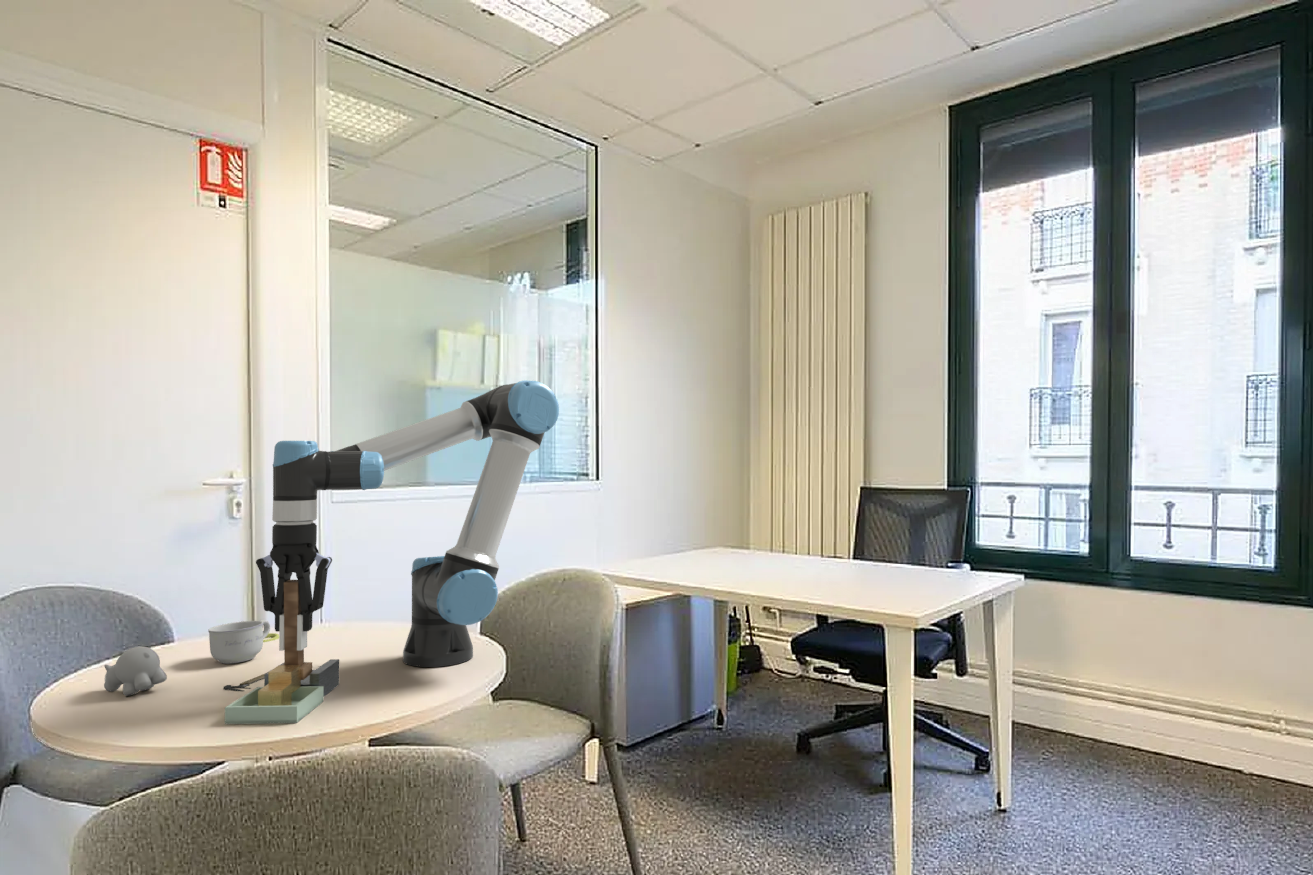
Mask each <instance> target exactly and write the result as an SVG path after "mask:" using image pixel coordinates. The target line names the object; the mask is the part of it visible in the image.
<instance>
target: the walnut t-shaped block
mask: <svg viewBox="0 0 1313 875" xmlns="http://www.w3.org/2000/svg"><path fill="white" fill-rule="evenodd" d="M300 612H302V610H301V602H300V593H299V585H298V579H290V580H288V581H286V582H284V650H283V651H284V653H283V654H284V659H283V660H284V662H283V663H284V664H283V665H301V680H304V679H305V678H306V677H308V676H309V675H310V673H311V672H312V670H313V662H311V661H310V662H309V661H305V648H304V649H303V650H297V615H299V614H300Z"/></svg>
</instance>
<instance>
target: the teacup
mask: <svg viewBox="0 0 1313 875" xmlns="http://www.w3.org/2000/svg"><path fill="white" fill-rule="evenodd" d="M270 631H271V624H270V622H269V621H268V620H267V619H260V620H245V621H244V620H242V621H234V622H229V623H222V624H218V625H215V626H213V627H210V628H209V629H208V631H207V632H208V635H209V637H208V638H209V652H210V656H211V657H212V658H213V659H214V660H216V661H218V662H219V663H220V664H225V665H227V664H237V663H242V662H247V661H250V660H252V659H254V658H256V656H257V655H258V654H259V653H260V652H261V651H262V649H263V646H264V642H263V640H265V639H266V638H265V637H266V636H267V635H268V633H270Z"/></svg>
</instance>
